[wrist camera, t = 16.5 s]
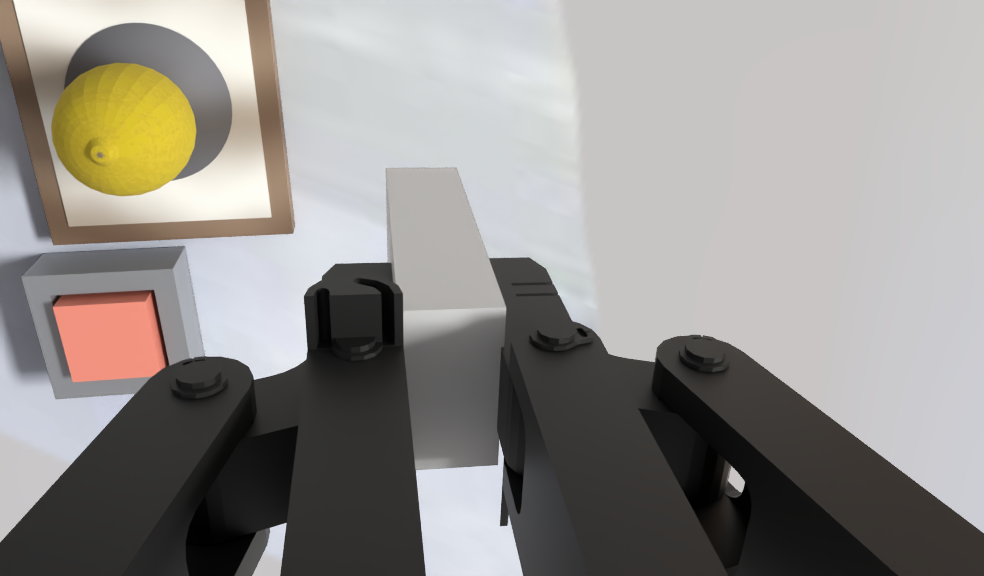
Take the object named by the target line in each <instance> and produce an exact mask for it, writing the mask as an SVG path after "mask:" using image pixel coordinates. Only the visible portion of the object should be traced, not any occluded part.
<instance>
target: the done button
mask: <svg viewBox="0 0 984 576" xmlns="http://www.w3.org/2000/svg"><path fill="white" fill-rule="evenodd" d="M53 310H54V314H55V318H56V321H57V325H58V329H59V332H60V336H61V340H62V344H63V347H64V351H65V355H66V359H67V362H68V366H69V370H70V373H71V377H72V381H73V382H84V381H98V380H113V379H127V378H141V377H152V376H154V375H155V374H156V373H157V372H159V371H160V370H161V369H163V368H165V366H166V364H167V362H168V356H167V351H166V346H165V341H164V336H163V331H162V326H161V321H160V316H159V311H158V306H157V301H156V296H155V292H154V290H140V291H123V292H105V293H87V294H69V295H62V296H61V297H60V298H59V300H58V301H57V302H56V303H55V305H54V306H53Z"/></svg>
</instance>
